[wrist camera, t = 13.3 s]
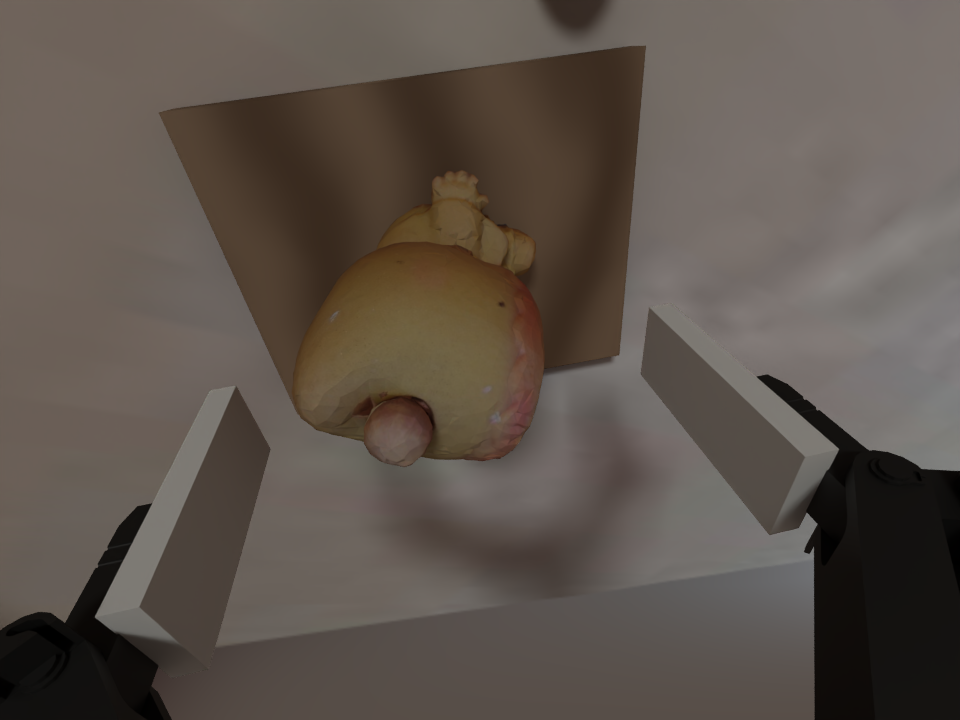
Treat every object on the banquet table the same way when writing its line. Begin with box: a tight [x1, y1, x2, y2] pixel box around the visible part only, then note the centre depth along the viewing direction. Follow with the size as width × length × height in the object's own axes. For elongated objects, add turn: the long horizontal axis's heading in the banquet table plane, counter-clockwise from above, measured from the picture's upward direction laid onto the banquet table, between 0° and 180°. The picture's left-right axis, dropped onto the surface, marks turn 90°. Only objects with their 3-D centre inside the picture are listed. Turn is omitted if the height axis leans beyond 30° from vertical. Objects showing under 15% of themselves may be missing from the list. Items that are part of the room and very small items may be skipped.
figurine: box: [292, 170, 545, 467], centre depth 17 cm, size 10×8×15 cm
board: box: [159, 46, 646, 414], centre depth 24 cm, size 20×16×2 cm
